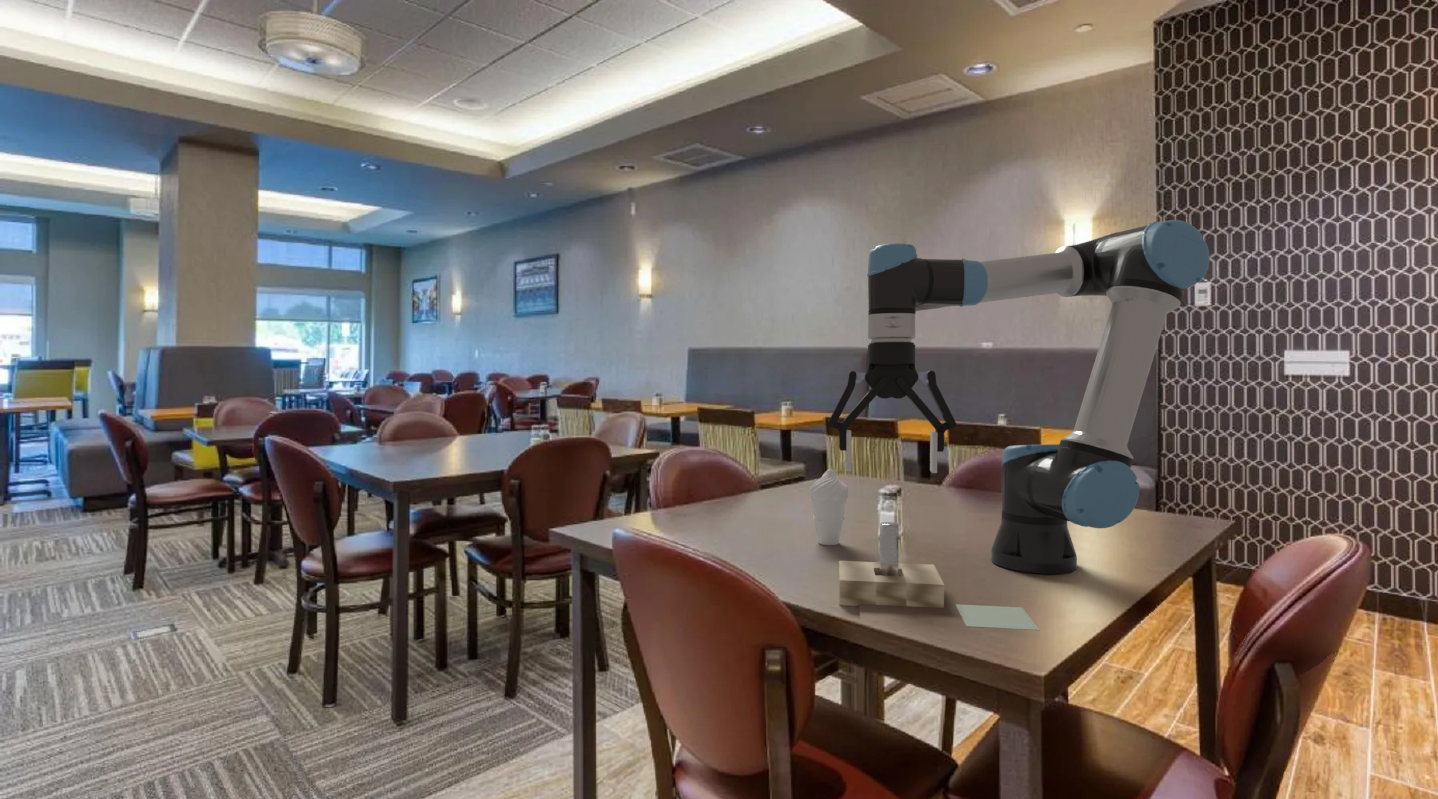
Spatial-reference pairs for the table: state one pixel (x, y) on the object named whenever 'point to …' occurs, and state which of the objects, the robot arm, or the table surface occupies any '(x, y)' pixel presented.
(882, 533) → the peg
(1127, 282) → the robot arm
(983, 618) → the mat
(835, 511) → the soft serve ice cream cone
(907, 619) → the table surface
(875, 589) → the block
